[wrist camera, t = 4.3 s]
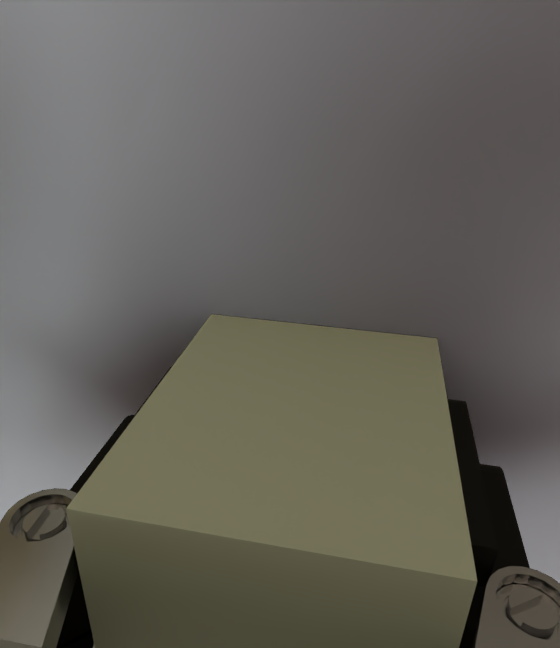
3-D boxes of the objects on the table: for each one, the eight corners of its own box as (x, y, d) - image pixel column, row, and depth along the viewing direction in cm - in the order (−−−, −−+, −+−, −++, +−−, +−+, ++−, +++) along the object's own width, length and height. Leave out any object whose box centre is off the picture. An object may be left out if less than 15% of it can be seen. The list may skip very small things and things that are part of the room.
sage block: (437, 338, 11) (477, 581, 6) (406, 512, 13) (415, 804, 8) (211, 313, 12) (66, 508, 7) (217, 482, 14) (112, 729, 9)
